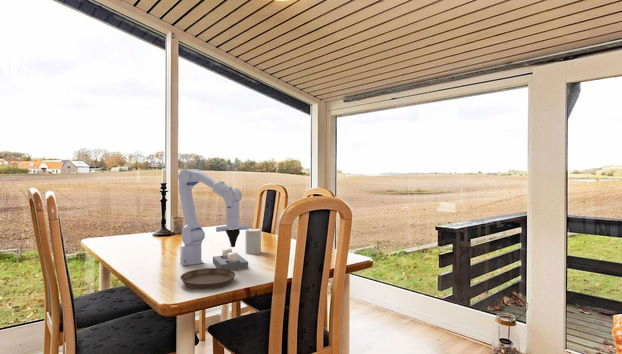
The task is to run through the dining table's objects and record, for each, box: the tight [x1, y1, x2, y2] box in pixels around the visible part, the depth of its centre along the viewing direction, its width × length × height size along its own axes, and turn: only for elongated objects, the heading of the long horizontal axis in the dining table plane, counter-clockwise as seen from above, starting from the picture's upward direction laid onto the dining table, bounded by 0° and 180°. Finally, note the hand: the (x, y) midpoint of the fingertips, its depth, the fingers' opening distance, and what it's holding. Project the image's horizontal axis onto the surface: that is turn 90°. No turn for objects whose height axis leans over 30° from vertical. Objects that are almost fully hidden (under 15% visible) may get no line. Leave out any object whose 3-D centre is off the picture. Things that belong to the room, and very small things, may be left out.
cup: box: [244, 228, 262, 255], centre depth 197 cm, size 8×8×12 cm
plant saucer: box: [180, 267, 236, 290], centre depth 145 cm, size 21×21×3 cm
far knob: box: [221, 247, 233, 259], centre depth 174 cm, size 4×4×4 cm
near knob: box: [228, 251, 239, 264], centre depth 166 cm, size 4×4×4 cm
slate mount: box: [212, 254, 249, 271], centre depth 170 cm, size 12×16×3 cm
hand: (232, 246), depth 166 cm, fingers closed
